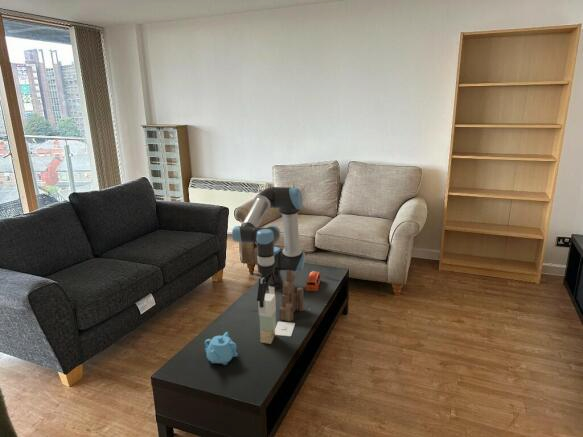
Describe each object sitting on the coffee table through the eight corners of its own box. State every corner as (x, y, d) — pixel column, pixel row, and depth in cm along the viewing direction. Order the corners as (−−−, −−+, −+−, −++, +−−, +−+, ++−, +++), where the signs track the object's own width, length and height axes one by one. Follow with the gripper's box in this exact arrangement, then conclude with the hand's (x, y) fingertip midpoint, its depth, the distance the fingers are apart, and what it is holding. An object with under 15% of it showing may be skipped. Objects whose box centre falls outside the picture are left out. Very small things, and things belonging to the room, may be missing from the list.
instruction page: (277, 322, 208) (277, 321, 208) (295, 323, 206) (295, 322, 206) (272, 334, 196) (272, 333, 196) (291, 336, 195) (290, 335, 195)
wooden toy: (290, 322, 207) (289, 277, 200) (279, 319, 210) (278, 275, 203) (304, 309, 220) (304, 266, 213) (293, 306, 223) (293, 264, 216)
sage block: (264, 323, 196) (263, 308, 193) (275, 324, 194) (275, 309, 192) (260, 329, 190) (259, 314, 188) (272, 331, 189) (271, 316, 186)
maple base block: (265, 334, 197) (264, 323, 195) (275, 335, 196) (274, 324, 194) (260, 342, 190) (260, 331, 189) (270, 343, 189) (270, 332, 188)
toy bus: (305, 292, 240) (305, 280, 238) (310, 279, 257) (310, 268, 255) (317, 293, 239) (317, 281, 236) (321, 280, 255) (321, 269, 253)
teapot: (230, 348, 187) (228, 326, 184) (241, 364, 174) (239, 341, 172) (203, 357, 181) (201, 334, 178) (213, 373, 169) (210, 349, 166)
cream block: (263, 308, 193) (263, 293, 191) (275, 309, 192) (275, 294, 190) (258, 315, 187) (258, 299, 185) (271, 317, 185) (270, 301, 183)
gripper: (266, 252, 195) (268, 292, 201) (248, 273, 172) (250, 318, 178) (281, 254, 193) (282, 294, 199) (264, 275, 170) (266, 320, 176)
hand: (267, 305), depth 189 cm, fingers open, 13 cm apart
